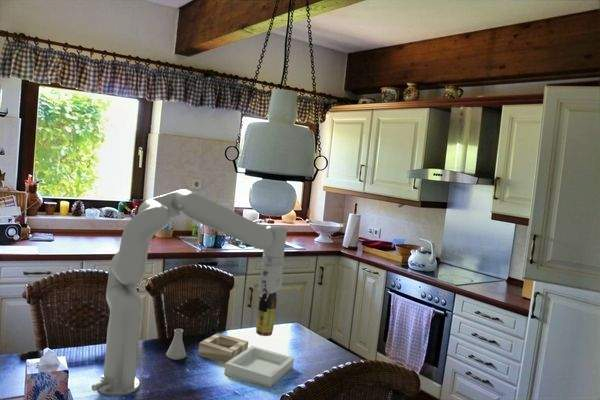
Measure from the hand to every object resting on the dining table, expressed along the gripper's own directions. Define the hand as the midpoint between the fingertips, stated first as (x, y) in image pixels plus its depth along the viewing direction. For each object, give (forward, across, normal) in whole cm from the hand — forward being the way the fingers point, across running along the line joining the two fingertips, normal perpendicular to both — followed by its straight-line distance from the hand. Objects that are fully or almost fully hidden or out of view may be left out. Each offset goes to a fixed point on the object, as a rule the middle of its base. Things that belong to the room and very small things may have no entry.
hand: (267, 308), depth 179 cm
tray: (+23, 0, 0) cm, 23 cm away
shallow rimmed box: (+23, +4, +18) cm, 30 cm away
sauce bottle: (+10, 0, 0) cm, 10 cm away
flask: (+24, -8, +31) cm, 40 cm away
